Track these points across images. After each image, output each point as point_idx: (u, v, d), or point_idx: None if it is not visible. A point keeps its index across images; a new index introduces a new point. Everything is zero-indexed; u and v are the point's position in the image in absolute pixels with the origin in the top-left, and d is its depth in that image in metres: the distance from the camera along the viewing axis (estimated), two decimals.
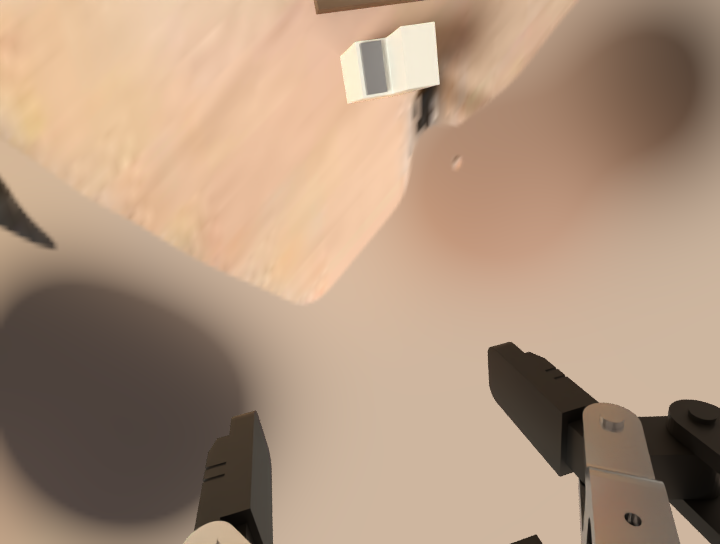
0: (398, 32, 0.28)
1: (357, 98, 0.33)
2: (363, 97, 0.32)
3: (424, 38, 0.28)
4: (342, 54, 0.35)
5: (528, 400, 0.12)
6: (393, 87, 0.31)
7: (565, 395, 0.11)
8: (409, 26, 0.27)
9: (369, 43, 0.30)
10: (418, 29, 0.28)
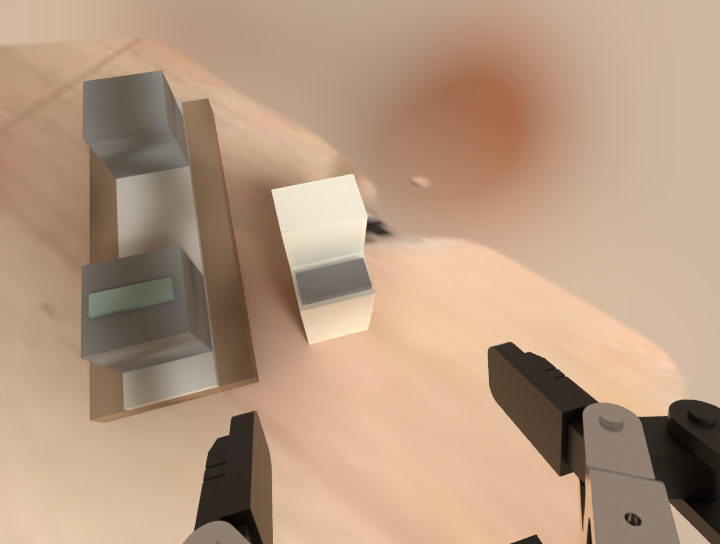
0: (288, 239, 0.18)
1: (370, 307, 0.22)
2: (374, 293, 0.21)
3: (294, 200, 0.19)
4: None
5: (528, 400, 0.12)
6: (355, 250, 0.21)
7: (565, 395, 0.11)
8: (280, 222, 0.18)
9: (301, 289, 0.20)
10: (283, 209, 0.18)
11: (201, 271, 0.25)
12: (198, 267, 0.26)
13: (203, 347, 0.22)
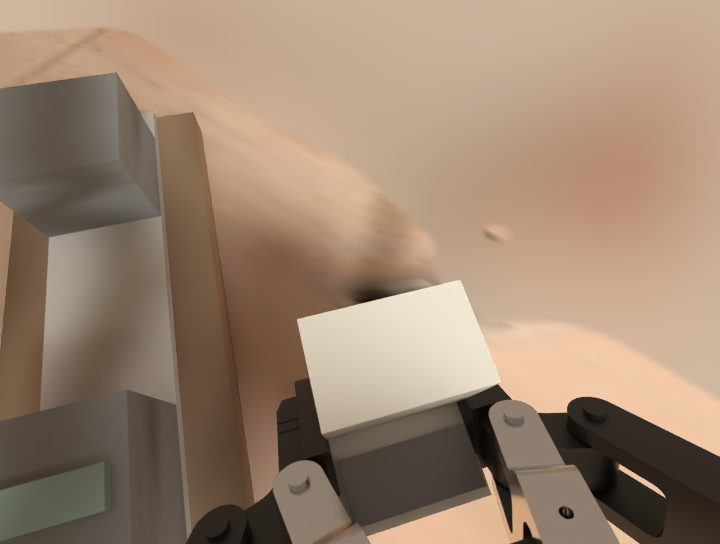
0: (333, 431, 0.09)
1: None
2: (486, 493, 0.11)
3: (346, 344, 0.09)
4: None
5: None
6: (448, 405, 0.11)
7: (479, 393, 0.11)
8: (318, 401, 0.08)
9: (351, 498, 0.10)
10: (323, 368, 0.09)
11: (174, 396, 0.16)
12: (169, 389, 0.16)
13: None
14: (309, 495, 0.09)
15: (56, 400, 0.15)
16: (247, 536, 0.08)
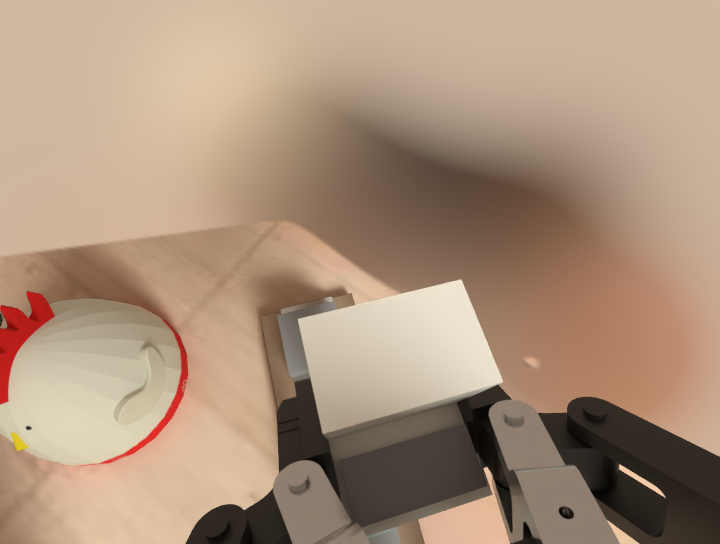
0: (335, 431, 0.09)
1: None
2: (488, 492, 0.11)
3: (347, 344, 0.09)
4: None
5: None
6: (449, 404, 0.11)
7: (479, 393, 0.11)
8: (319, 401, 0.08)
9: (352, 498, 0.10)
10: (324, 368, 0.09)
11: None
12: None
13: None
14: (309, 495, 0.09)
15: None
16: (247, 536, 0.08)
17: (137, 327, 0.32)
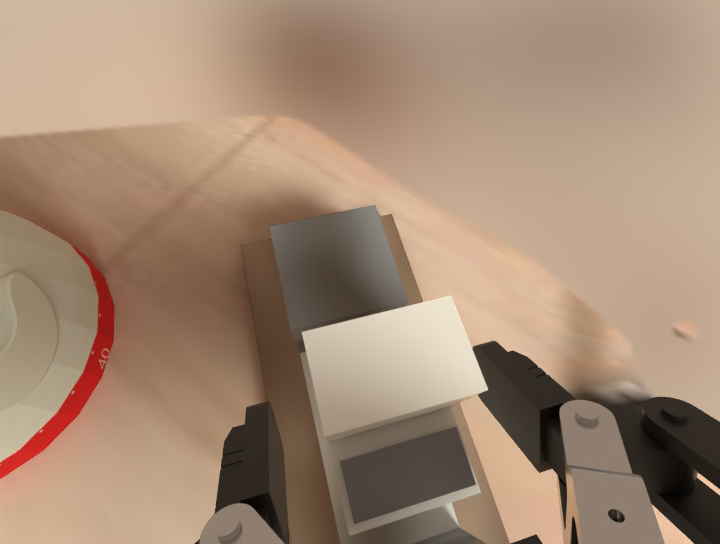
0: (335, 434, 0.09)
1: None
2: (477, 491, 0.12)
3: (346, 355, 0.10)
4: None
5: (509, 398, 0.12)
6: (441, 409, 0.12)
7: (544, 393, 0.11)
8: (321, 407, 0.09)
9: (351, 495, 0.11)
10: (326, 377, 0.09)
11: (455, 518, 0.17)
12: (449, 511, 0.17)
13: None
14: None
15: None
16: None
17: None
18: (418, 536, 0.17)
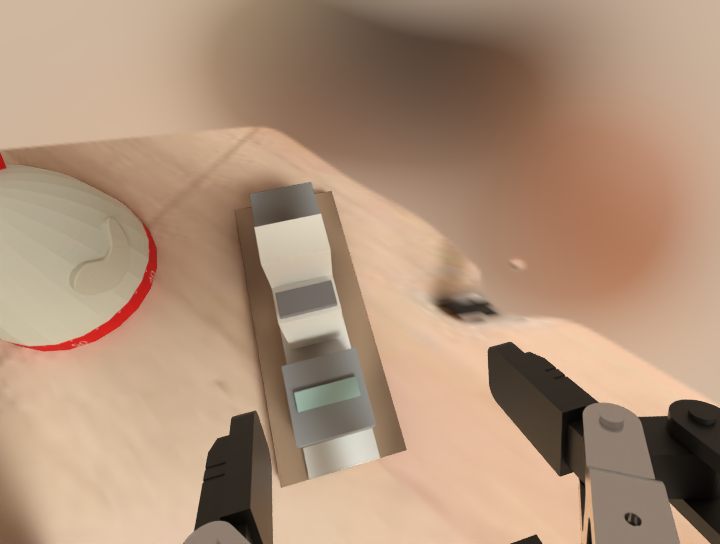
0: (267, 267, 0.23)
1: (339, 319, 0.27)
2: (340, 309, 0.25)
3: (272, 236, 0.23)
4: (289, 345, 0.29)
5: (528, 400, 0.12)
6: (325, 273, 0.26)
7: (565, 395, 0.11)
8: (260, 254, 0.23)
9: (279, 306, 0.25)
10: (263, 244, 0.23)
11: None
12: None
13: (370, 427, 0.27)
14: None
15: (293, 357, 0.30)
16: None
17: (99, 200, 0.30)
18: None
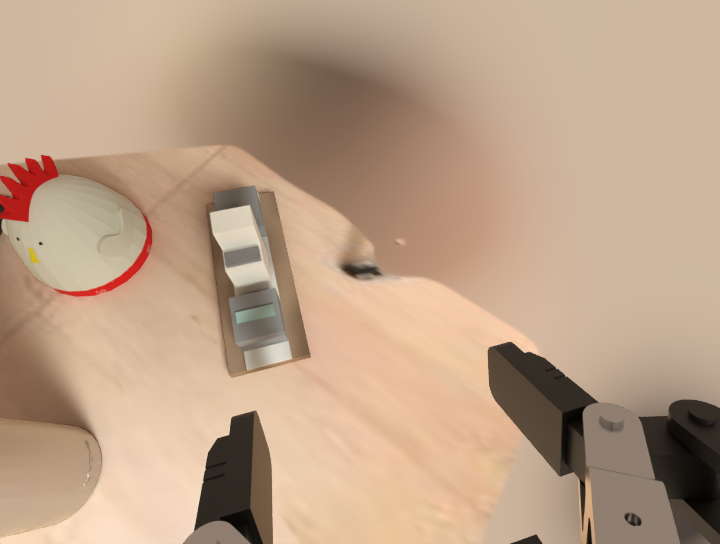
0: (216, 236, 0.40)
1: (265, 271, 0.44)
2: (263, 262, 0.42)
3: (220, 217, 0.40)
4: (237, 290, 0.46)
5: (528, 400, 0.12)
6: (255, 241, 0.42)
7: (565, 395, 0.11)
8: (212, 228, 0.39)
9: (225, 260, 0.41)
10: (214, 222, 0.40)
11: (279, 298, 0.47)
12: (277, 296, 0.47)
13: (285, 338, 0.44)
14: None
15: None
16: None
17: (114, 197, 0.47)
18: None
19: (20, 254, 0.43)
